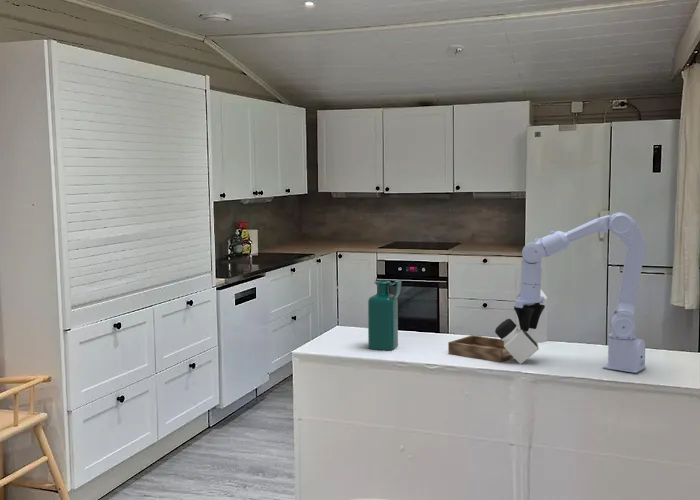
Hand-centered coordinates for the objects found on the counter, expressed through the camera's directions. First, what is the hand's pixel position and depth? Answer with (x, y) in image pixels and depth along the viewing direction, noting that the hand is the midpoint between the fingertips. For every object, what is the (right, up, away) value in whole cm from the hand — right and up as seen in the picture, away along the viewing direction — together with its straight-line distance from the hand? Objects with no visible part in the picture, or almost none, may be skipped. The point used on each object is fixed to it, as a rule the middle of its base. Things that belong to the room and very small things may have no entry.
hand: (528, 329), depth 207 cm
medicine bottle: (0, -7, 0) cm, 7 cm away
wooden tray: (-11, -9, +11) cm, 17 cm away
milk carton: (+8, -8, +27) cm, 29 cm away
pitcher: (-41, -9, +20) cm, 47 cm away
